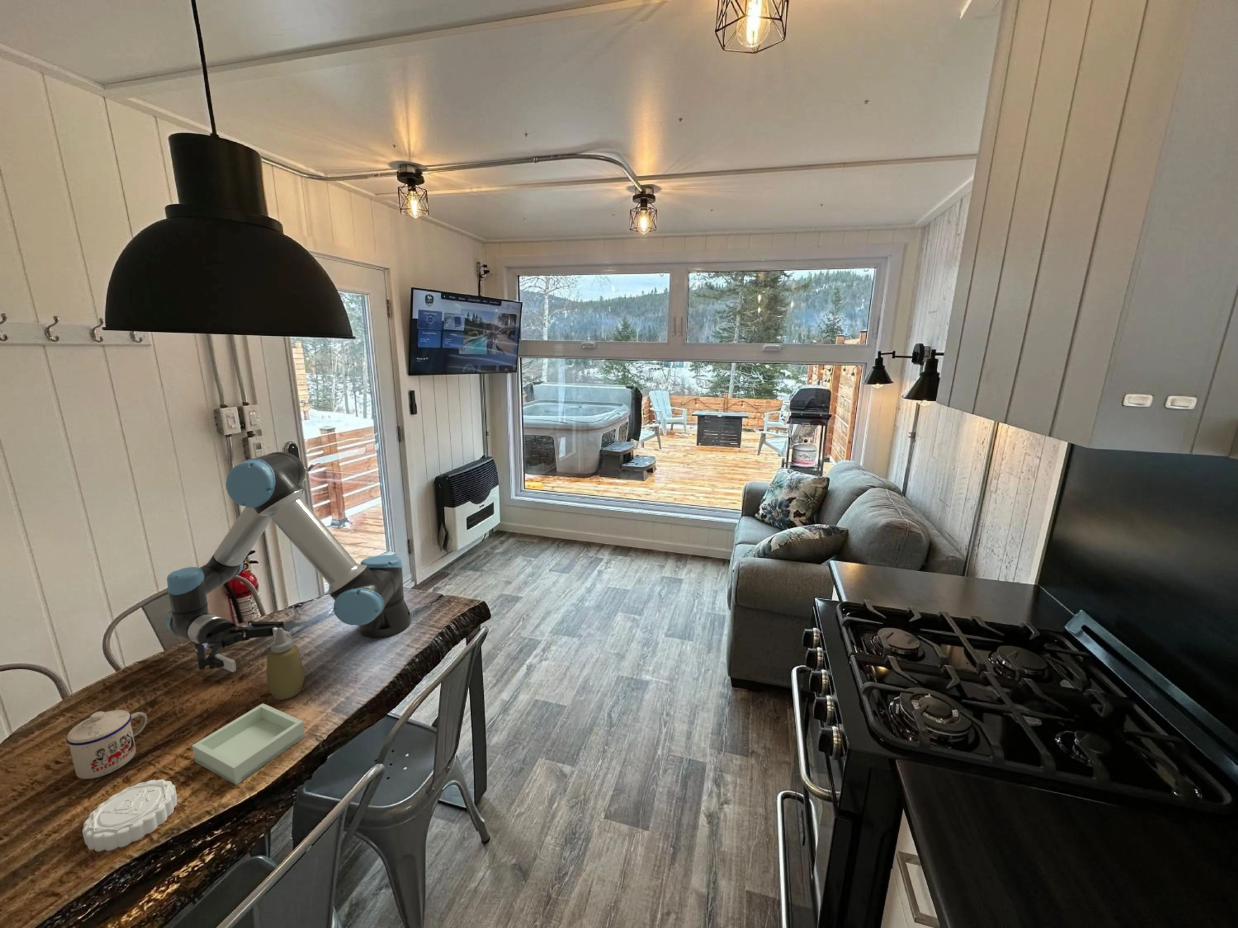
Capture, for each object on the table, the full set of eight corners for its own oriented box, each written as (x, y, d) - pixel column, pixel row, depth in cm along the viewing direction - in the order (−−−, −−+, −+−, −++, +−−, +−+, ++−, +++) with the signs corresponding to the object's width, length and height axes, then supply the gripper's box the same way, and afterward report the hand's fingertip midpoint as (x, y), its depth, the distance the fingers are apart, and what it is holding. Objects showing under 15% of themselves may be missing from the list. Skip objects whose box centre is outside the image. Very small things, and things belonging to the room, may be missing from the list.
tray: (264, 717, 113) (262, 703, 112) (305, 736, 108) (303, 721, 107) (194, 761, 101) (191, 745, 100) (236, 784, 95) (233, 767, 95)
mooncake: (194, 793, 94) (192, 778, 93) (131, 854, 82) (127, 837, 81) (135, 789, 94) (132, 774, 93) (64, 850, 82) (59, 833, 82)
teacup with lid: (94, 785, 94) (82, 735, 92) (62, 774, 96) (51, 724, 94) (164, 741, 106) (156, 694, 103) (135, 732, 108) (126, 686, 106)
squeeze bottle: (260, 698, 120) (251, 633, 116) (291, 679, 127) (284, 617, 123) (283, 707, 117) (274, 640, 113) (313, 687, 124) (307, 624, 121)
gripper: (263, 622, 142) (312, 639, 134) (158, 669, 120) (208, 693, 112) (260, 599, 141) (309, 615, 133) (153, 642, 118) (204, 665, 110)
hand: (263, 651), depth 122 cm, fingers open, 13 cm apart
